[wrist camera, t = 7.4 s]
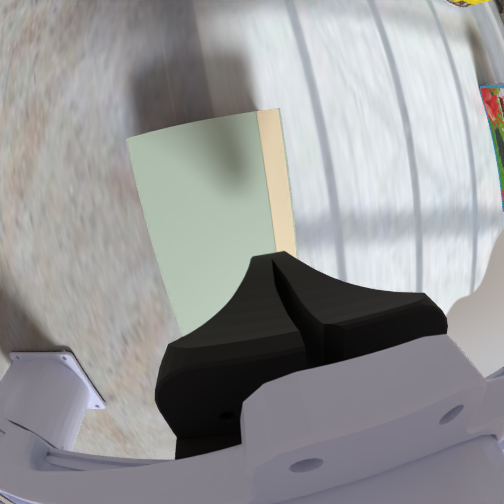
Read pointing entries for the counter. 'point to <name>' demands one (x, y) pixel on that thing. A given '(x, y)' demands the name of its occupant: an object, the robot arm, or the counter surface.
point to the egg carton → (503, 2)
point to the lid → (213, 205)
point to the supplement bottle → (464, 2)
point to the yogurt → (496, 123)
